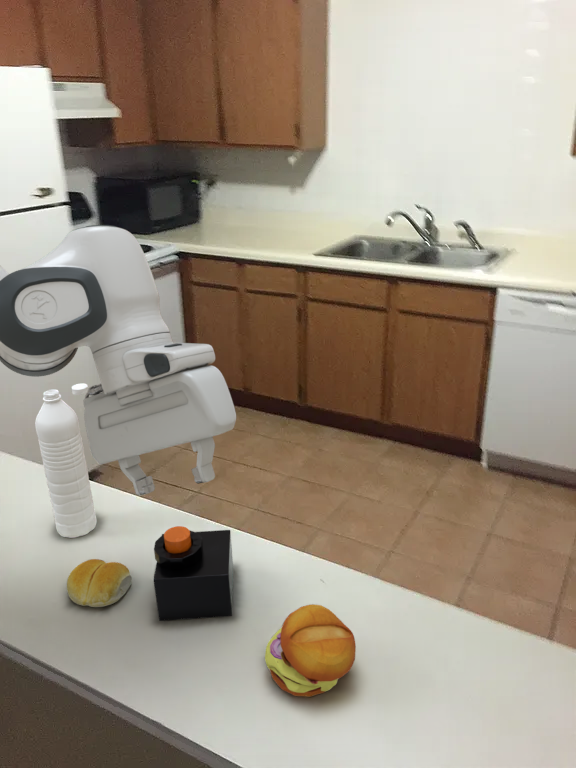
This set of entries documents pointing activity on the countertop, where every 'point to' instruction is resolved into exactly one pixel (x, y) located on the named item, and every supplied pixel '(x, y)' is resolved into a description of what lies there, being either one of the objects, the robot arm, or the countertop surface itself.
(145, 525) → the countertop surface
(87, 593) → the bread roll
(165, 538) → the orange button cap
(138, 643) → the countertop surface
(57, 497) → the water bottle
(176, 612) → the black push button box
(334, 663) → the cheeseburger
